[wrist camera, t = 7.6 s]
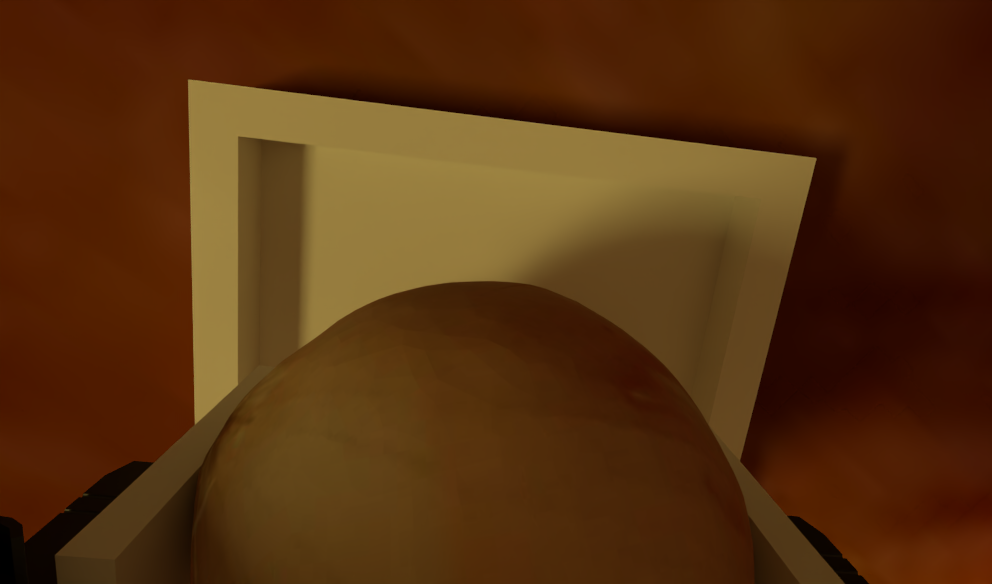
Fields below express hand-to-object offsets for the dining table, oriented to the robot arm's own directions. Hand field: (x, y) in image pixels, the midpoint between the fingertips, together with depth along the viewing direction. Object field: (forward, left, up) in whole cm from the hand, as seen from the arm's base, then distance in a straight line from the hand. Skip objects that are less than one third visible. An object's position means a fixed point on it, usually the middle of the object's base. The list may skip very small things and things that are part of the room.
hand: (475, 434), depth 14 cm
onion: (0, 0, -1) cm, 1 cm away
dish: (0, 0, -4) cm, 4 cm away
